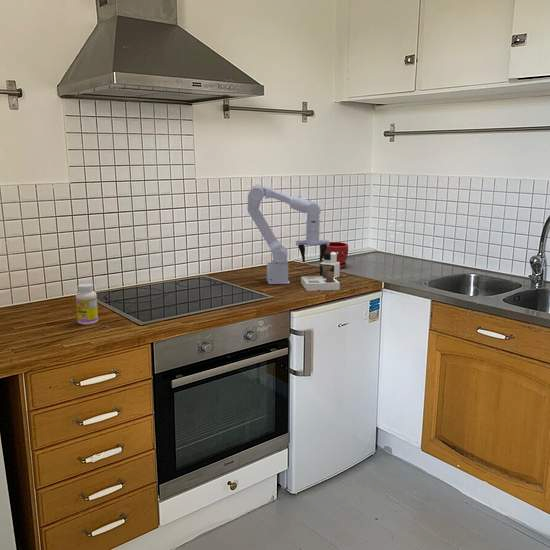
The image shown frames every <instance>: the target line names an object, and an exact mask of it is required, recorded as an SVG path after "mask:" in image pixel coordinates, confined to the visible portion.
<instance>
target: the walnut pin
mask: <svg viewBox="0 0 550 550" xmlns="http://www.w3.org/2000/svg"><path fill="white" fill-rule="evenodd" d="M333 276H334V272H331V271H328V272H326V283H333Z"/></svg>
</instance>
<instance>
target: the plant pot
mask: <svg viewBox="0 0 550 550" xmlns="http://www.w3.org/2000/svg"><path fill="white" fill-rule="evenodd" d="M325 252H335V253H337V261H336V262H340V269H344V268H345V267H346V266H347V263H346V260H347V259H348V256H349V244H348V243H346V242H341V241H329V245H327V249H326V251H325ZM343 267H344V268H343Z"/></svg>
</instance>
